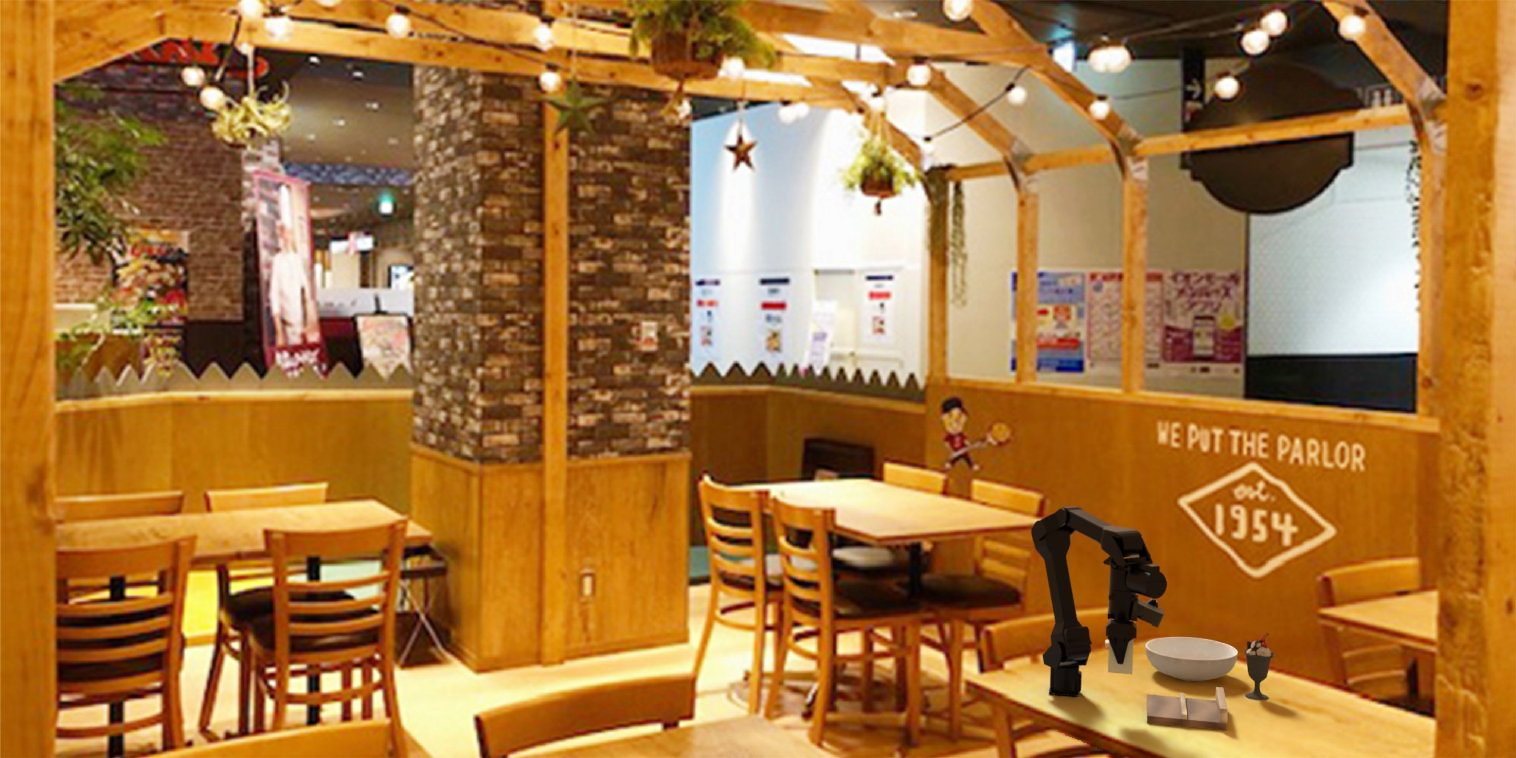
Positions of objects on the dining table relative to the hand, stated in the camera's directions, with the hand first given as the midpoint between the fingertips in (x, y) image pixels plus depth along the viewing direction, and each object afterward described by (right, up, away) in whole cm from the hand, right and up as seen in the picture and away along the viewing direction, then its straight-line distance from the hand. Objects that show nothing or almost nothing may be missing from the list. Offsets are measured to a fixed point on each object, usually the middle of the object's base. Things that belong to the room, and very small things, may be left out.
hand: (1120, 660), depth 293 cm
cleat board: (+14, -12, +2) cm, 19 cm away
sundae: (+35, -12, +16) cm, 40 cm away
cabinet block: (0, -2, 0) cm, 2 cm away
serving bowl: (+25, -10, +32) cm, 42 cm away
